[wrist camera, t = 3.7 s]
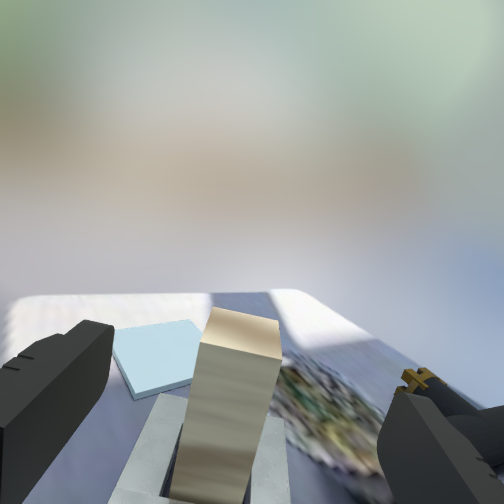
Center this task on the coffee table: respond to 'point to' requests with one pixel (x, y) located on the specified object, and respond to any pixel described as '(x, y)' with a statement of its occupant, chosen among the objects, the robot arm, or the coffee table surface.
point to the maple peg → (226, 407)
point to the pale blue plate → (157, 356)
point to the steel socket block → (164, 448)
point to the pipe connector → (461, 414)
